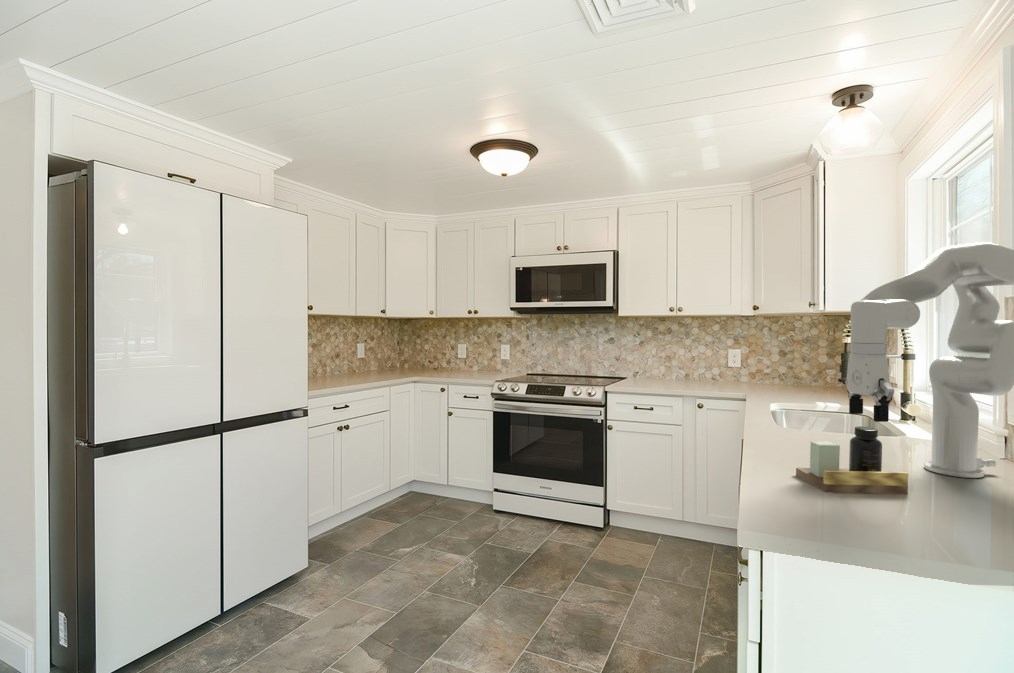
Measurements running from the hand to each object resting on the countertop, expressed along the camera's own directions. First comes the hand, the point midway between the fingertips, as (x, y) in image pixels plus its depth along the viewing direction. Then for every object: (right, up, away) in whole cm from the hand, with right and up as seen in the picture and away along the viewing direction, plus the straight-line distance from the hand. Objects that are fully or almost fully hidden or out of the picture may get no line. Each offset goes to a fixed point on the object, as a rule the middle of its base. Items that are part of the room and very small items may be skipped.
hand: (868, 417), depth 132 cm
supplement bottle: (-1, -15, 0) cm, 15 cm away
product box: (-11, -15, +1) cm, 18 cm away
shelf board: (-5, -17, 0) cm, 18 cm away
